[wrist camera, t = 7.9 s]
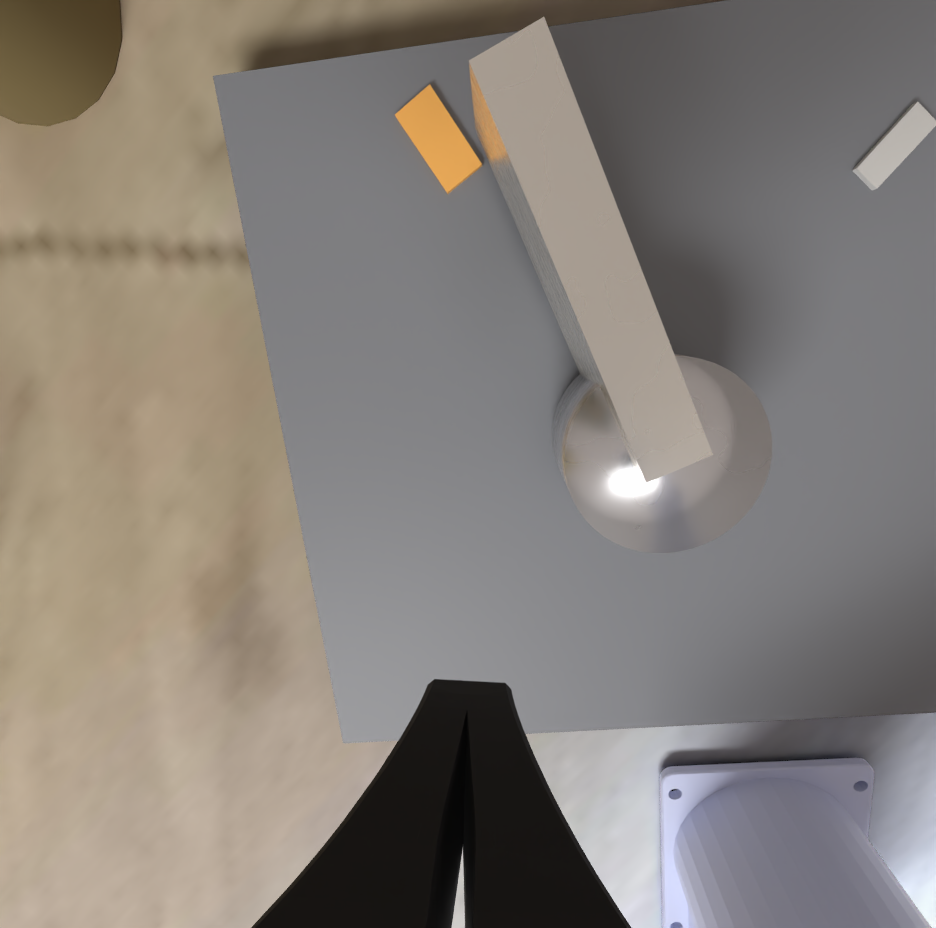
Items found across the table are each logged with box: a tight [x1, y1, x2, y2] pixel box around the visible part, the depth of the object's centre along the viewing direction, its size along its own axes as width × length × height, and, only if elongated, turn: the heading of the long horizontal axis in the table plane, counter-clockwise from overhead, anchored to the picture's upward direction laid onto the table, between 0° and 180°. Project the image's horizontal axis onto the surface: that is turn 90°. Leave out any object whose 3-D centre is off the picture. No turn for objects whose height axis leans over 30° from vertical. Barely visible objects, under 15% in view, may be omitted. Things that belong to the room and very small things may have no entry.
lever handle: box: [469, 17, 772, 553], centre depth 14 cm, size 12×5×4 cm, turn 26°
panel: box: [213, 0, 936, 743], centre depth 17 cm, size 22×22×2 cm
